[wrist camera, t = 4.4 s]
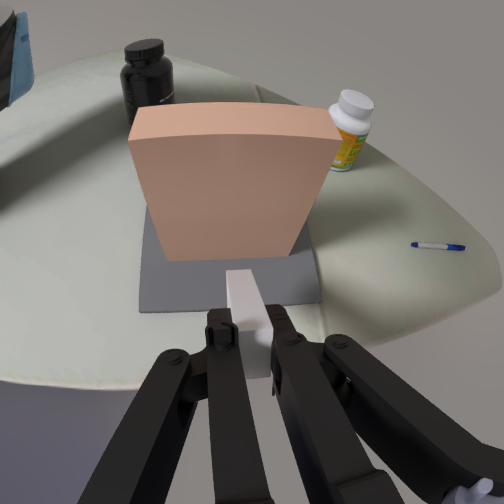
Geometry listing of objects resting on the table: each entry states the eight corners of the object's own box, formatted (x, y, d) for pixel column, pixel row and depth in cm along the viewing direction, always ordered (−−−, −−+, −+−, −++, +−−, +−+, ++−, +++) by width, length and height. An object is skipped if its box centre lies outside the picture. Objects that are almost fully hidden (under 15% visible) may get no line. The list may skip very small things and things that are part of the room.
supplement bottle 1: (176, 128, 33) (170, 48, 23) (127, 136, 32) (110, 60, 21) (175, 102, 36) (171, 32, 26) (132, 109, 35) (120, 41, 24)
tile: (288, 256, 26) (342, 140, 13) (167, 261, 24) (127, 140, 12) (282, 226, 27) (325, 106, 15) (168, 230, 26) (139, 105, 13)
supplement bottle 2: (344, 179, 32) (375, 119, 24) (306, 158, 33) (328, 95, 24) (356, 157, 35) (384, 102, 26) (322, 138, 35) (343, 81, 27)
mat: (320, 302, 25) (322, 300, 24) (140, 312, 22) (138, 311, 22) (282, 137, 34) (283, 134, 34) (159, 139, 32) (158, 136, 32)
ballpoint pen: (461, 245, 30) (465, 242, 30) (463, 251, 30) (467, 248, 29) (409, 243, 29) (414, 239, 28) (411, 250, 29) (416, 246, 28)
